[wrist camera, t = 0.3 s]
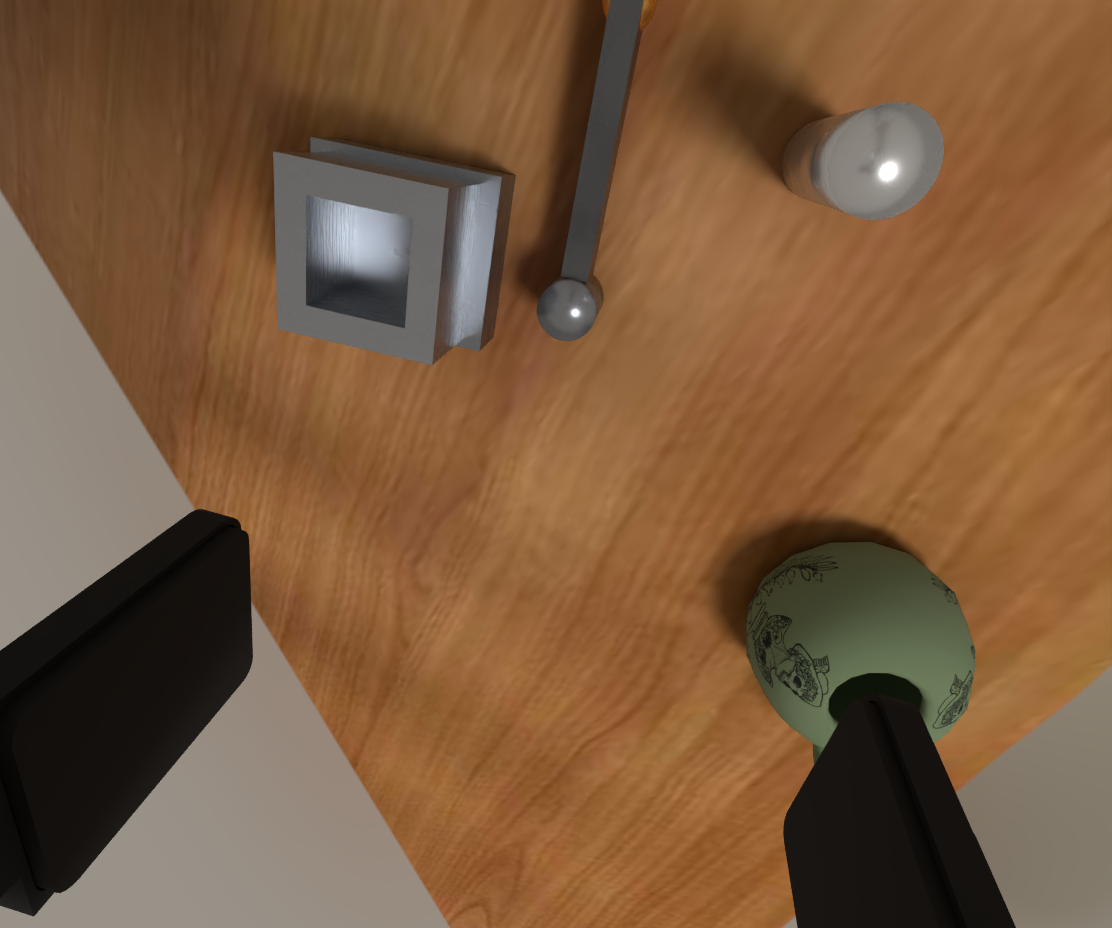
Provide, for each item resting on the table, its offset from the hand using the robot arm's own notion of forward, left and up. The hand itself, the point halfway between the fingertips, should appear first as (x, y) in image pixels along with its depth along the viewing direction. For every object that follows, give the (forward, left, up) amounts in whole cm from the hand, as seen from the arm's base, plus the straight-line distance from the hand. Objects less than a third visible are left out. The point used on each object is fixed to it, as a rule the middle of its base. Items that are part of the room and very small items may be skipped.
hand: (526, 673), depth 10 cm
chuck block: (0, -13, -29) cm, 32 cm away
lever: (-6, -3, -29) cm, 30 cm away
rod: (-8, +7, -29) cm, 31 cm away
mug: (+19, +18, -30) cm, 39 cm away
